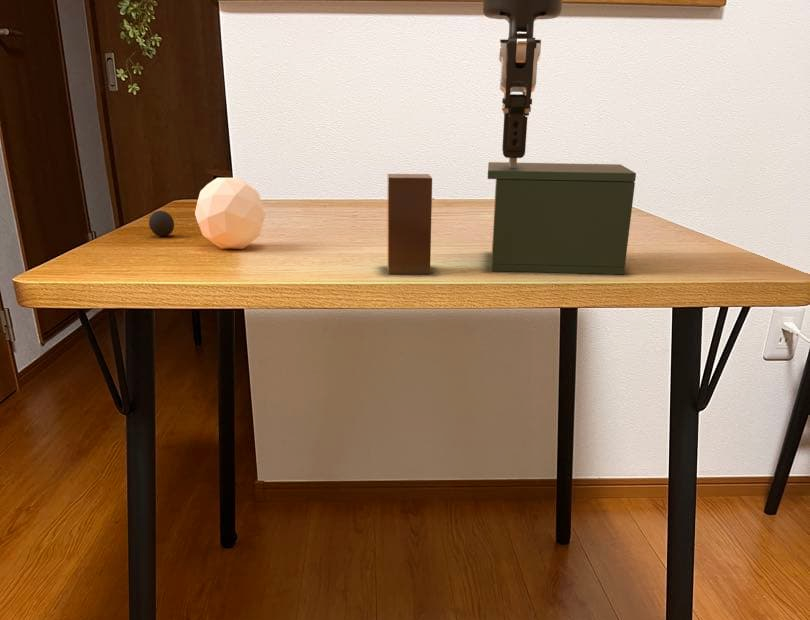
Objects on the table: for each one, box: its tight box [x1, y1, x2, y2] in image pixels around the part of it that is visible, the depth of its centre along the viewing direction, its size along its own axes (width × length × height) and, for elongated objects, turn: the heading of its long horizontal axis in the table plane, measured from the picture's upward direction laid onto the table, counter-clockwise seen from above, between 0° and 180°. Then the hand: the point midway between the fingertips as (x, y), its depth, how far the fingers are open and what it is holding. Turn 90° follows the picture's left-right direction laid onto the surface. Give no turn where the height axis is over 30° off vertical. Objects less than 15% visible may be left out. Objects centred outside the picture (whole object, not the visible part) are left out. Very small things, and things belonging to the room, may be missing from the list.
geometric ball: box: [194, 177, 266, 250], centre depth 100 cm, size 8×8×8 cm
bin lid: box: [487, 158, 637, 183], centre depth 89 cm, size 14×11×5 cm
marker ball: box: [148, 210, 175, 237], centre depth 108 cm, size 3×3×3 cm
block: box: [386, 173, 433, 275], centre depth 88 cm, size 4×4×9 cm
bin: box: [491, 179, 636, 275], centre depth 93 cm, size 13×11×9 cm
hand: (513, 155), depth 90 cm, fingers closed on bin lid, 5 cm apart
